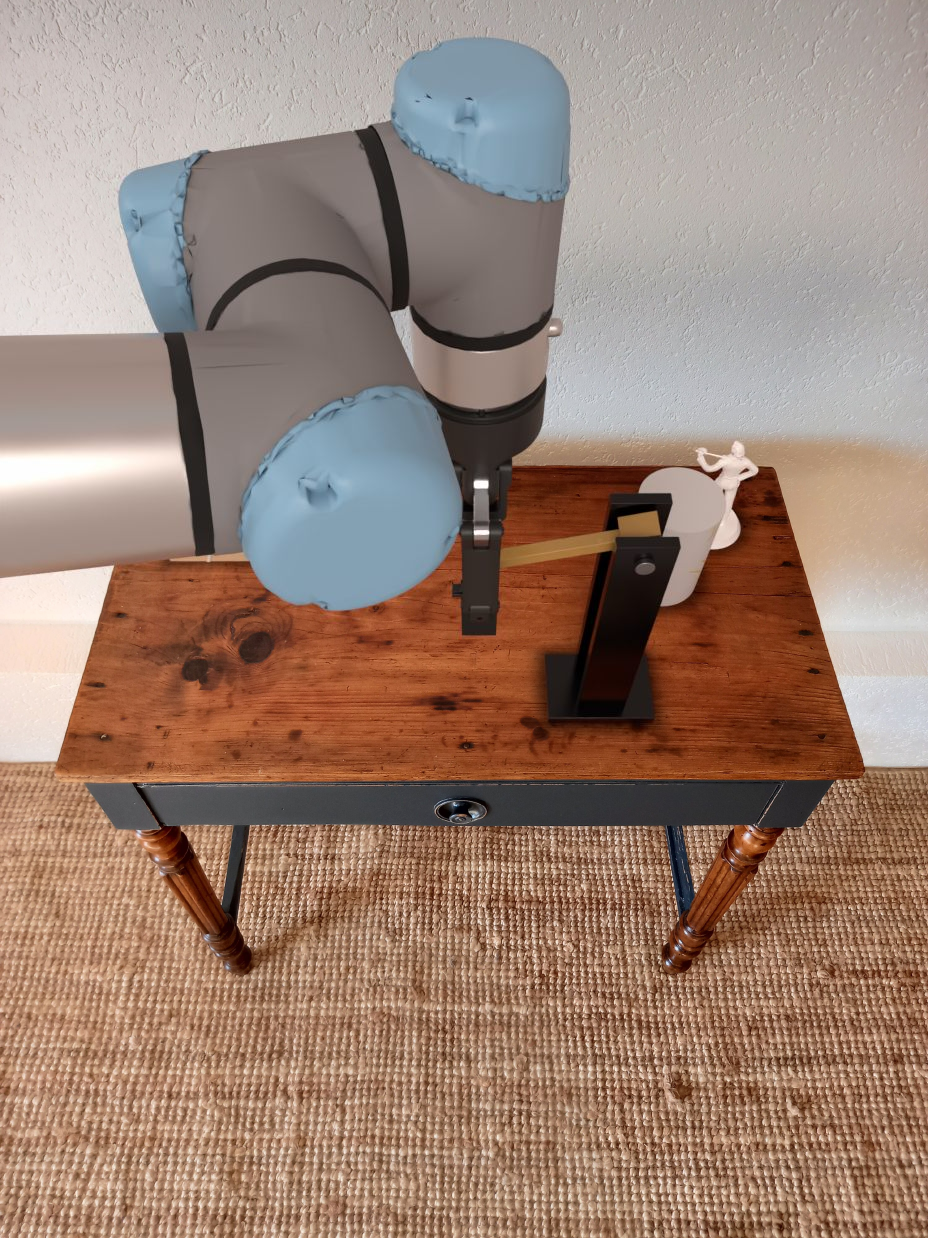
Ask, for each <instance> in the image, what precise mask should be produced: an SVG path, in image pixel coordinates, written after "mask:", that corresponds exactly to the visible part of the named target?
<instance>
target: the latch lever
mask: <svg viewBox="0 0 928 1238" xmlns="http://www.w3.org/2000/svg"><path fill="white" fill-rule="evenodd" d="M618 525H619V529H617V530H611V531H605V532H602V531H599V532H593V533H588V534H583V535H575V536H569V537H563V538H558V539H557V538H556V539H552V540H546V541H540V542H533V543H527V544H522V545H515V546H509V547H504V548H503V547H502V548H501V552H500V569H505V568H513V567H518V566H524V565H529V564H536V563H542V562H548V561H549V562H550V561H554V560H560V559H561V560H562V559H567V558H568V559H569V558H574V557H580V556H586V555H591V554H597V553H599V552H605V551H611V550H613V546H614V542H615V538H616V537H661V532H660V526H659V520H658V514H657V511H651V512H646V513H640V514H634V515H628V516H622V517H618Z"/></svg>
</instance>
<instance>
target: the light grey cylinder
mask: <svg viewBox="0 0 928 1238" xmlns="http://www.w3.org/2000/svg"><path fill="white" fill-rule="evenodd" d="M638 493H671V495H672V500H673V505H672V508H671V511H670V514H669V517H668V520H667V524H666V527H665V530H664V533H663V536H662V537H679V539H680V545H681V549H680V552H679V555H678V558H677V560H676V563H675V566H674V569H673V572H672V575H671V577H670V580H669V583H668V586H667V589H666V592H665V594H664V597H663V600H662V603H661V606H660V607H669V606H675V605H678V604H680V603H682V602H683V601H686V599H688V598H689V597H690V596H691V595H692V594H693V592H694V591H695V587H696V585H697V583H698V580H699V578H700V575H701V573H702V570H703V568H704V565H705V563H706V561H707V558H708V556H709V553H710V551H711V549H710V548H711V546H712V543H713V541H714V538H715V536H716V533H717V531H718V528H719V526H720V523H721V521H722V518H723V516H724V513H725V510H726V499H725V496H724V494H725V492H724V490H723V491H722V489H721V488H720V487H719V485H718V484H717V483H716V482H715V480H714V479H712V478H711V477H710V476H708V475H706V474H704V473H703V472H701V471H698V470H695V469H692V468H687V467H678V466H673V467H666V468H662V469H659V470H656V471H654V472H652V473H650V474H649V475H647V477H646V478H645V479H643V481H642V483H641V484H640V487H639V489H638Z"/></svg>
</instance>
